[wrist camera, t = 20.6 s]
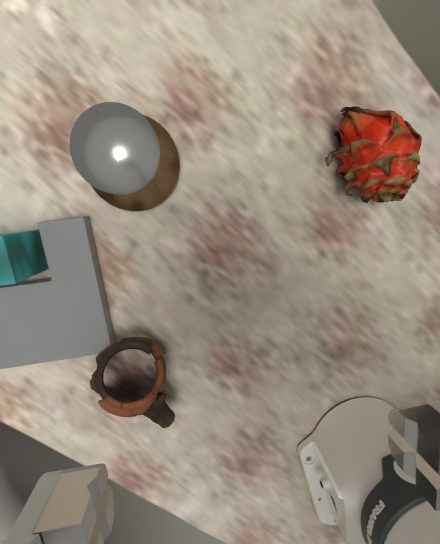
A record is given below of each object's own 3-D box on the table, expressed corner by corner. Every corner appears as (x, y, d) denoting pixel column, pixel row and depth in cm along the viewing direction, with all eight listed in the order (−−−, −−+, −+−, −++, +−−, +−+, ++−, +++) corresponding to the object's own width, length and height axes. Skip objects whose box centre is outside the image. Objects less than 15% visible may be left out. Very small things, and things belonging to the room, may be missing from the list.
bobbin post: (185, 205, 35) (185, 205, 26) (97, 215, 34) (65, 219, 25) (172, 112, 33) (167, 75, 23) (78, 120, 32) (35, 86, 23)
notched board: (115, 344, 38) (112, 351, 36) (-18, 364, 36) (-30, 373, 34) (89, 216, 34) (83, 217, 32) (-61, 233, 33) (-77, 235, 31)
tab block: (48, 268, 35) (15, 283, 28) (8, 273, 34) (-35, 290, 28) (39, 229, 34) (2, 235, 27) (-3, 235, 33) (-51, 242, 27)
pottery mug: (81, 380, 39) (65, 383, 31) (134, 325, 42) (131, 315, 35) (150, 442, 38) (151, 461, 31) (198, 381, 42) (209, 385, 34)
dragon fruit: (368, 210, 39) (317, 133, 38) (440, 170, 34) (385, 79, 33) (363, 230, 33) (301, 138, 32) (452, 184, 27) (383, 71, 26)
